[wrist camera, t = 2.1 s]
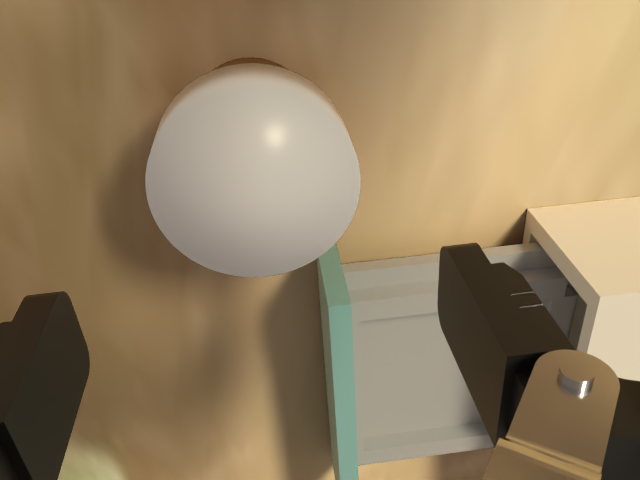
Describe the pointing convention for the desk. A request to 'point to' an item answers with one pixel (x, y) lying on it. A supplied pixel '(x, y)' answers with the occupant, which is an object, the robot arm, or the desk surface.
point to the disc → (252, 171)
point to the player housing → (598, 274)
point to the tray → (407, 355)
